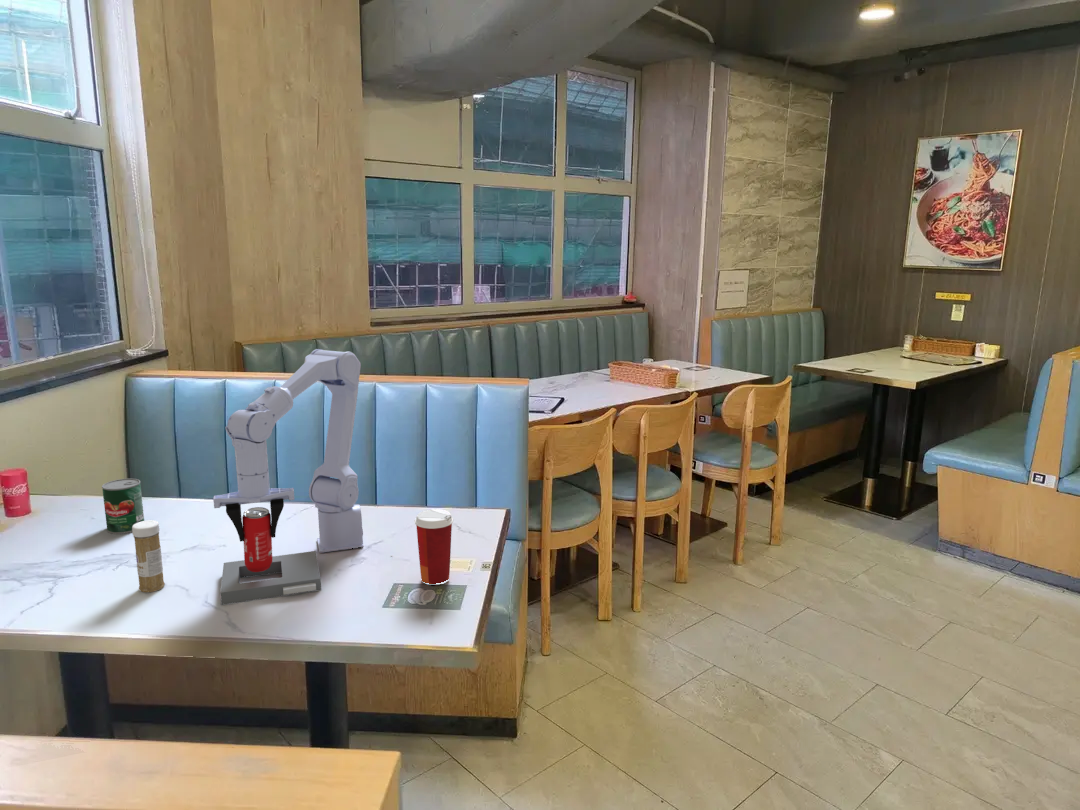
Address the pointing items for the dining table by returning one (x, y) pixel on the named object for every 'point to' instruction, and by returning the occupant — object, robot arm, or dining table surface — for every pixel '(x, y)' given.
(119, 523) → the canned tomato
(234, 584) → the grey tray with recess
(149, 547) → the sprinkles bottle
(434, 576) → the paper cup
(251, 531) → the red soda can
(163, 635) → the dining table surface
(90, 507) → the dining table surface
